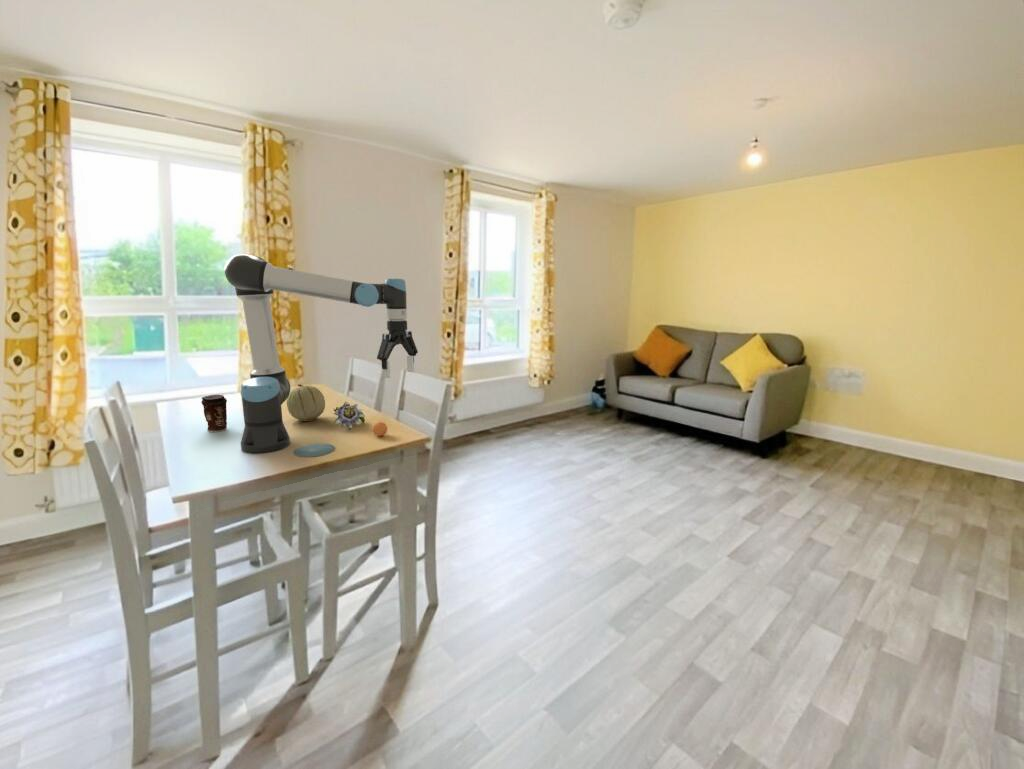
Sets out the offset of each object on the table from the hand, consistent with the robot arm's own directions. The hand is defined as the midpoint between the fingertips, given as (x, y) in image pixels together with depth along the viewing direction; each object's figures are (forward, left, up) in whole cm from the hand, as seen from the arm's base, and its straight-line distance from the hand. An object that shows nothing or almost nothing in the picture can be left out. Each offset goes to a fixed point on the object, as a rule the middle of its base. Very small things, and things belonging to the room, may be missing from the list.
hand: (398, 374), depth 184 cm
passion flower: (-18, +10, -22) cm, 30 cm away
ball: (-10, -8, -19) cm, 23 cm away
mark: (-34, -14, -21) cm, 42 cm away
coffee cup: (-64, +26, -22) cm, 72 cm away
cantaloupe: (-32, +25, -22) cm, 46 cm away
